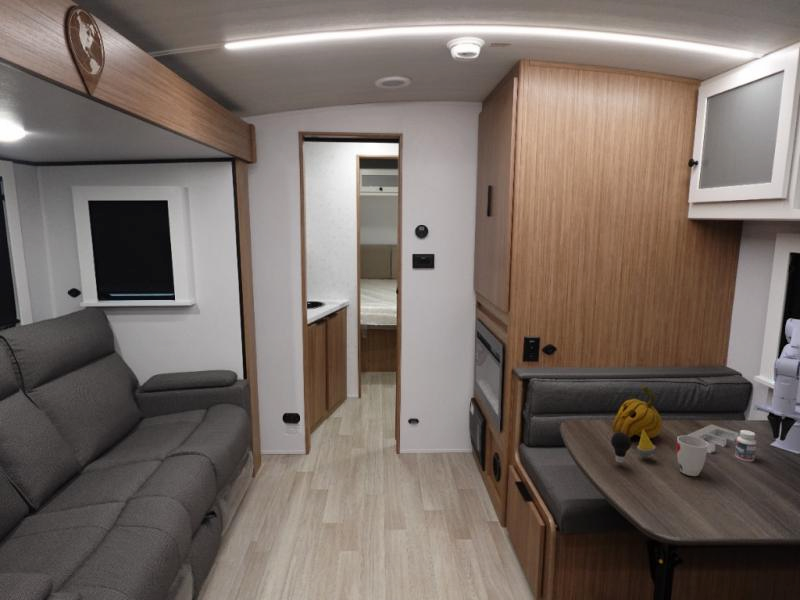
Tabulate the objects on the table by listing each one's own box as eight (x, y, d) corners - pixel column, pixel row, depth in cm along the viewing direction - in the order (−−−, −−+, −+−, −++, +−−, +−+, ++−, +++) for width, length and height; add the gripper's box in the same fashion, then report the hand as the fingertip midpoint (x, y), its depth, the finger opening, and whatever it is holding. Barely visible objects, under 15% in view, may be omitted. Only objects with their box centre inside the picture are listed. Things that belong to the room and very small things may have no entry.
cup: (678, 462, 152) (681, 433, 151) (708, 472, 147) (711, 441, 145) (670, 471, 147) (673, 441, 145) (700, 481, 141) (704, 449, 139)
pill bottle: (730, 454, 159) (733, 428, 157) (747, 454, 158) (750, 429, 157) (741, 461, 153) (744, 435, 152) (758, 462, 153) (761, 435, 152)
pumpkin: (649, 459, 167) (685, 414, 165) (618, 436, 163) (655, 390, 161) (624, 440, 180) (658, 398, 179) (595, 419, 176) (629, 376, 175)
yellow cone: (659, 460, 152) (654, 431, 151) (641, 462, 153) (636, 433, 152) (654, 453, 157) (649, 424, 157) (636, 455, 159) (632, 426, 158)
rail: (710, 430, 177) (711, 424, 177) (737, 439, 170) (738, 433, 169) (682, 443, 166) (683, 436, 166) (710, 453, 159) (711, 446, 159)
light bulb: (606, 463, 152) (608, 433, 150) (613, 456, 156) (615, 427, 155) (626, 469, 148) (628, 438, 146) (632, 462, 152) (634, 433, 151)
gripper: (751, 392, 149) (746, 433, 151) (809, 406, 137) (803, 451, 139) (761, 388, 153) (756, 428, 155) (818, 401, 141) (812, 445, 143)
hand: (779, 438), depth 147 cm, fingers closed
